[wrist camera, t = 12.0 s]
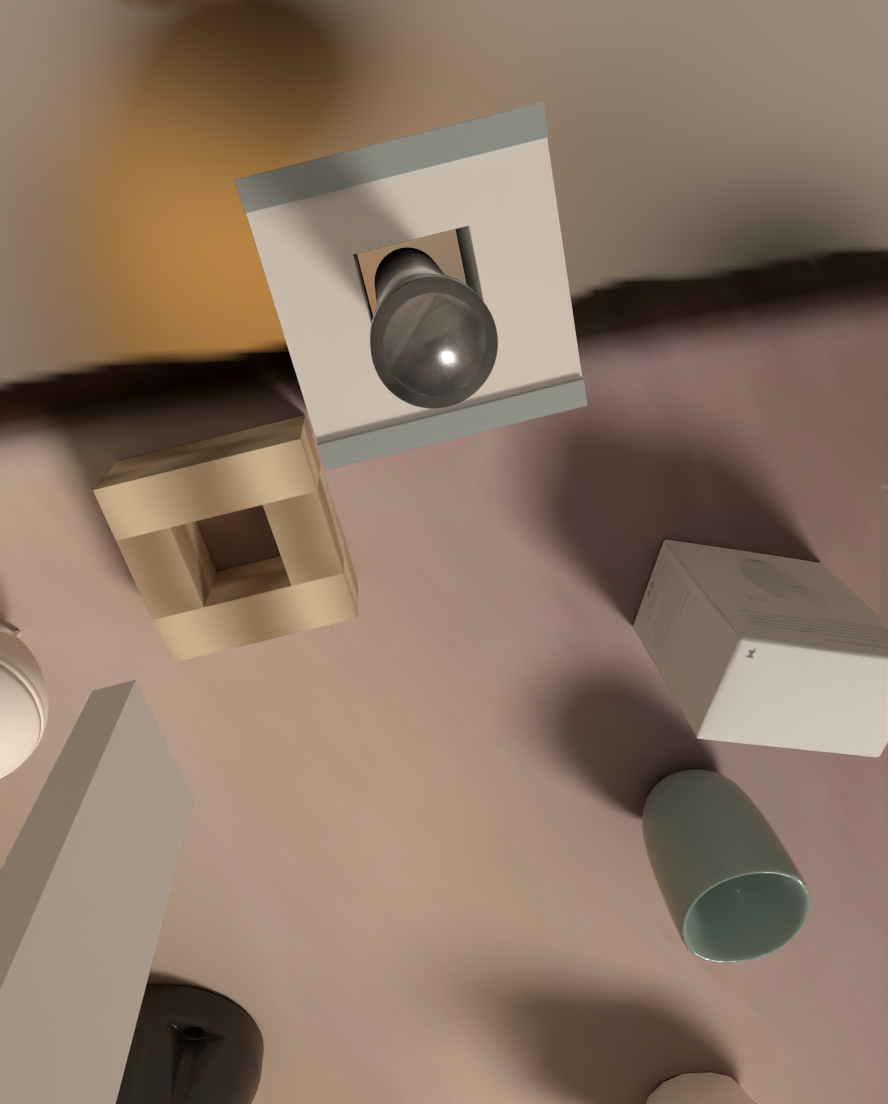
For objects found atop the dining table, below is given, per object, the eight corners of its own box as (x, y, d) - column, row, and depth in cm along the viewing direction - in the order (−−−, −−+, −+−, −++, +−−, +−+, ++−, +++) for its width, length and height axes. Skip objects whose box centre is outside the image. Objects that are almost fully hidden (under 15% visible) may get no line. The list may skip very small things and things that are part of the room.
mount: (187, 623, 45) (172, 663, 41) (116, 462, 41) (92, 490, 37) (357, 581, 45) (357, 617, 41) (305, 414, 40) (300, 439, 37)
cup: (632, 755, 52) (688, 876, 44) (746, 746, 53) (824, 863, 44) (622, 842, 56) (673, 970, 47) (729, 832, 56) (799, 957, 48)
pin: (378, 334, 39) (388, 421, 26) (356, 250, 37) (355, 296, 24) (457, 314, 39) (508, 391, 26) (438, 229, 37) (484, 264, 24)
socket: (330, 428, 41) (325, 470, 35) (254, 178, 36) (234, 179, 30) (555, 372, 41) (587, 405, 35) (514, 112, 35) (543, 101, 30)
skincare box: (629, 631, 48) (694, 744, 39) (662, 536, 46) (741, 632, 36) (784, 652, 50) (882, 764, 41) (824, 562, 47) (939, 659, 38)
